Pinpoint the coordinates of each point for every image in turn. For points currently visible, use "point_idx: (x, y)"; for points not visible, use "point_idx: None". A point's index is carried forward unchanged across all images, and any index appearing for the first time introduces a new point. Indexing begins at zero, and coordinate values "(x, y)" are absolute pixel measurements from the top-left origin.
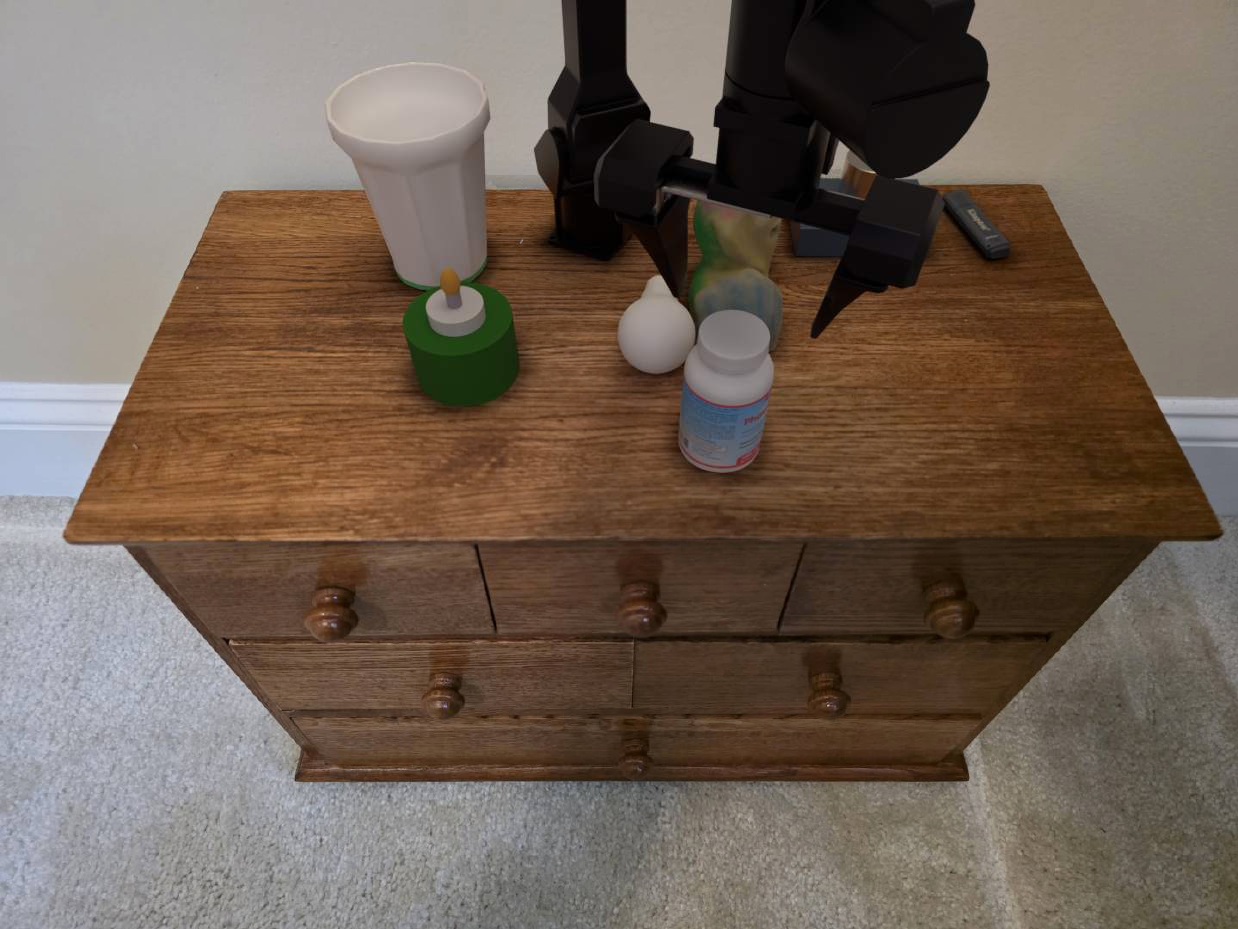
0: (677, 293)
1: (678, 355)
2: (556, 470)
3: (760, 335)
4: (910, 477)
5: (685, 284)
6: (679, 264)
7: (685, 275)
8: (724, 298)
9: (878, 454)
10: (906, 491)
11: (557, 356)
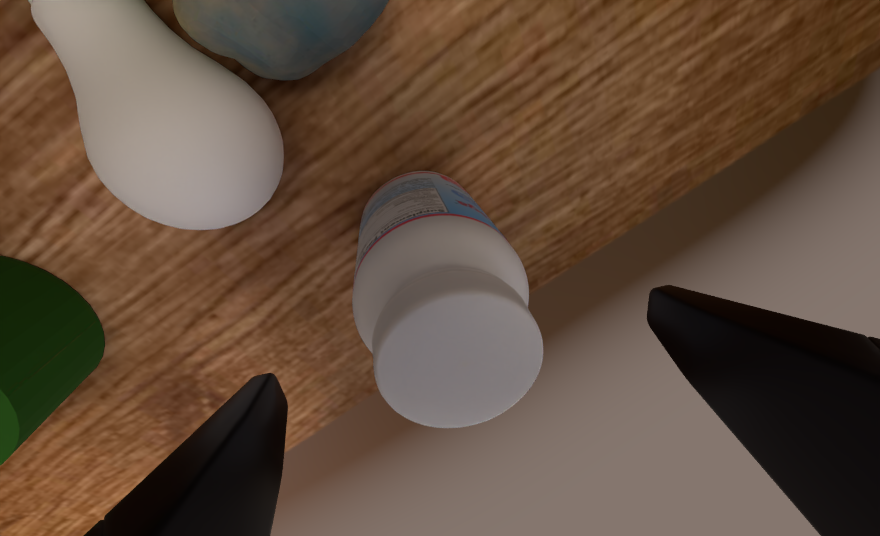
0: (284, 434)
1: (278, 179)
2: (277, 370)
3: (519, 341)
4: (669, 119)
5: (267, 382)
6: (245, 522)
7: (260, 421)
8: (255, 7)
9: (623, 104)
10: (667, 146)
11: (80, 224)
